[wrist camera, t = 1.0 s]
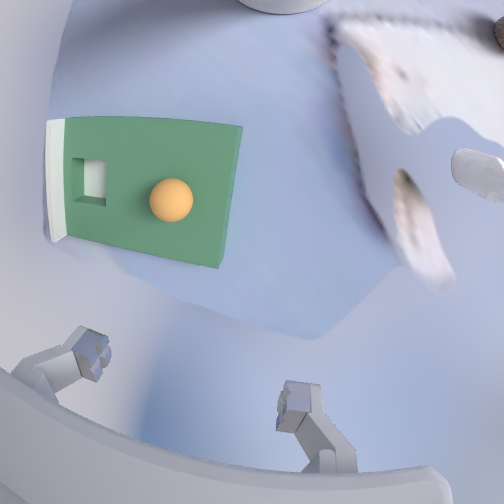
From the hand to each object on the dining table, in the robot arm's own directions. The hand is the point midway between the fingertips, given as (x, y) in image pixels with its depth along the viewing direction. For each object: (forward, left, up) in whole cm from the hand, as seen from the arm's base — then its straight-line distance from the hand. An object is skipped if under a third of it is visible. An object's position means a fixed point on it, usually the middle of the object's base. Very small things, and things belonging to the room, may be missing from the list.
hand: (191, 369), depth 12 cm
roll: (-12, +28, -28) cm, 41 cm away
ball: (0, -9, -22) cm, 24 cm away
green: (0, -16, -28) cm, 32 cm away
